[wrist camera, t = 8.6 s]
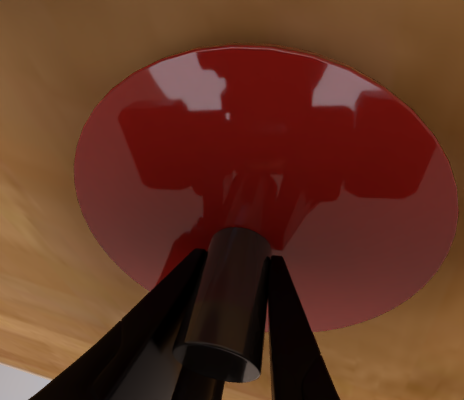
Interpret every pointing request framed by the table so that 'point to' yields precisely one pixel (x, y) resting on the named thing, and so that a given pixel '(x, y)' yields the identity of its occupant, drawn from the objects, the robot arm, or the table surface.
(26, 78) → the table surface
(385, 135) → the lid
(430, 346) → the table surface
